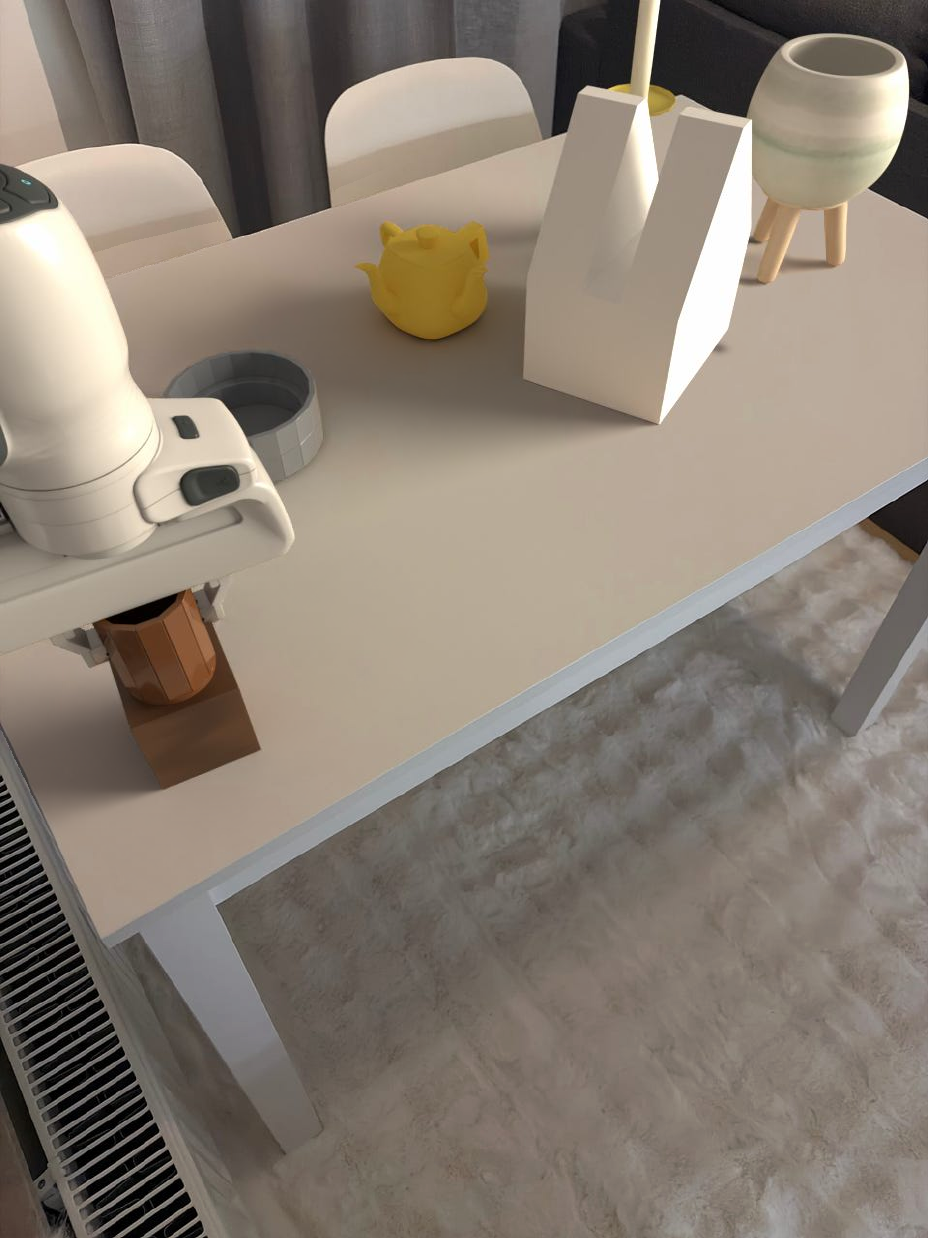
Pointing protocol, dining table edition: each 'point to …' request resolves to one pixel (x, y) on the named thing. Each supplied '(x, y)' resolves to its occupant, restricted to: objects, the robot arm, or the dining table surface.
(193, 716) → the stand
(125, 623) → the cup
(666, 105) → the candle
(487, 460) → the dining table surface
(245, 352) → the grey round tub
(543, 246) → the white v-notched block
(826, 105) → the planter
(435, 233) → the teapot
